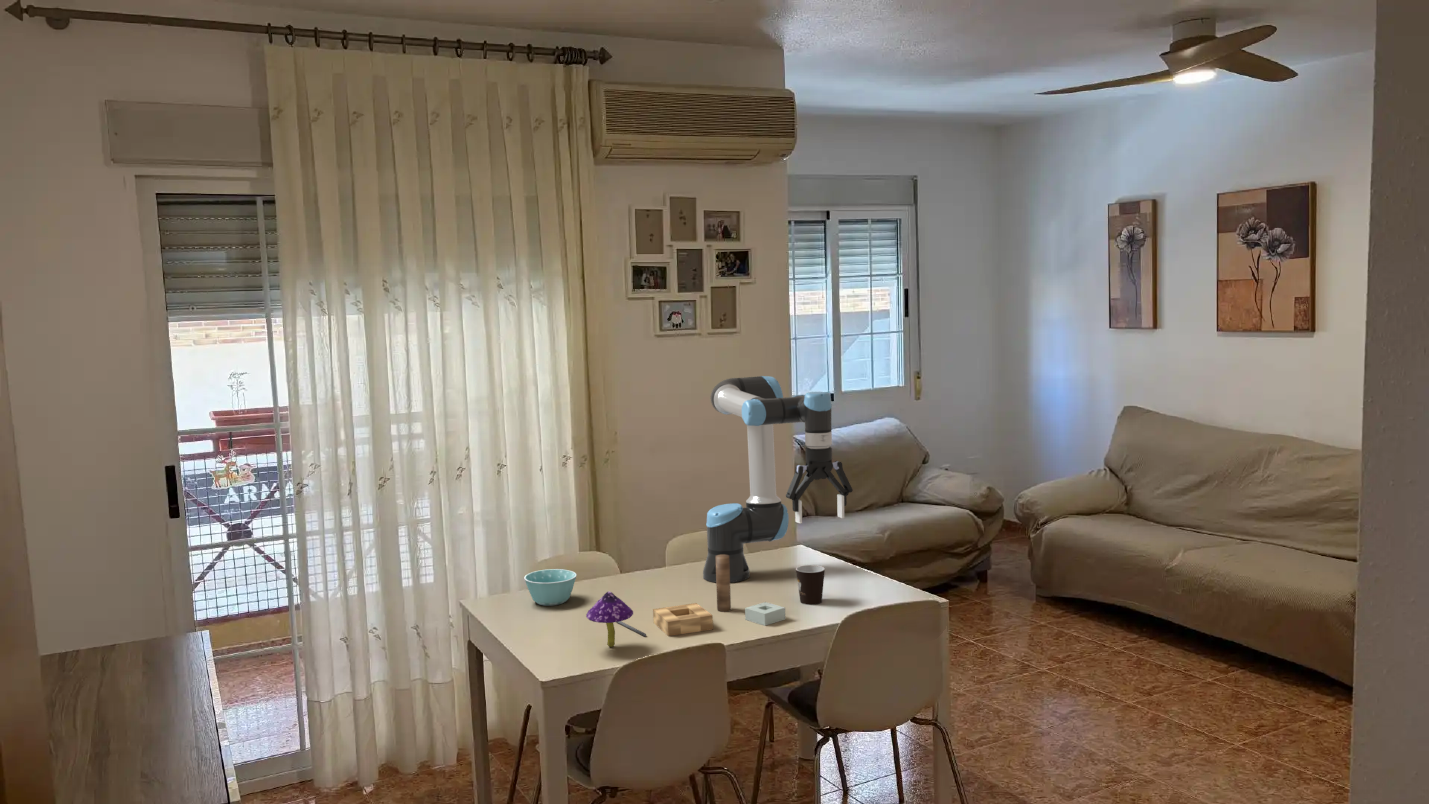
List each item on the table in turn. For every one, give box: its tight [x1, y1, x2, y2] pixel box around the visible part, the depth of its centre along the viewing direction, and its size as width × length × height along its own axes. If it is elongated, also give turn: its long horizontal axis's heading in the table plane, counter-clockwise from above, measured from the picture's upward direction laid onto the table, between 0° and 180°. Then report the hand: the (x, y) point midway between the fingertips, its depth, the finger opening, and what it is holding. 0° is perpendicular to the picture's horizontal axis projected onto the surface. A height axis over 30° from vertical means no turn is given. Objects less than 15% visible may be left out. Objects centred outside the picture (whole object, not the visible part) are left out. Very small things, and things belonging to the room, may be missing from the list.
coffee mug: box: [795, 564, 826, 606], centre depth 319 cm, size 12×9×10 cm
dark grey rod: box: [616, 621, 647, 637], centre depth 297 cm, size 17×1×1 cm, turn 33°
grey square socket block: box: [744, 601, 786, 627], centre depth 302 cm, size 8×8×3 cm
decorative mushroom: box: [585, 591, 634, 648], centre depth 282 cm, size 12×12×15 cm
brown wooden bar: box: [715, 555, 732, 613], centre depth 312 cm, size 4×4×16 cm
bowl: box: [523, 568, 578, 607], centre depth 326 cm, size 16×16×8 cm
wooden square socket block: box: [652, 602, 714, 637], centre depth 298 cm, size 13×13×4 cm
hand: (820, 520), depth 305 cm, fingers open, 13 cm apart
